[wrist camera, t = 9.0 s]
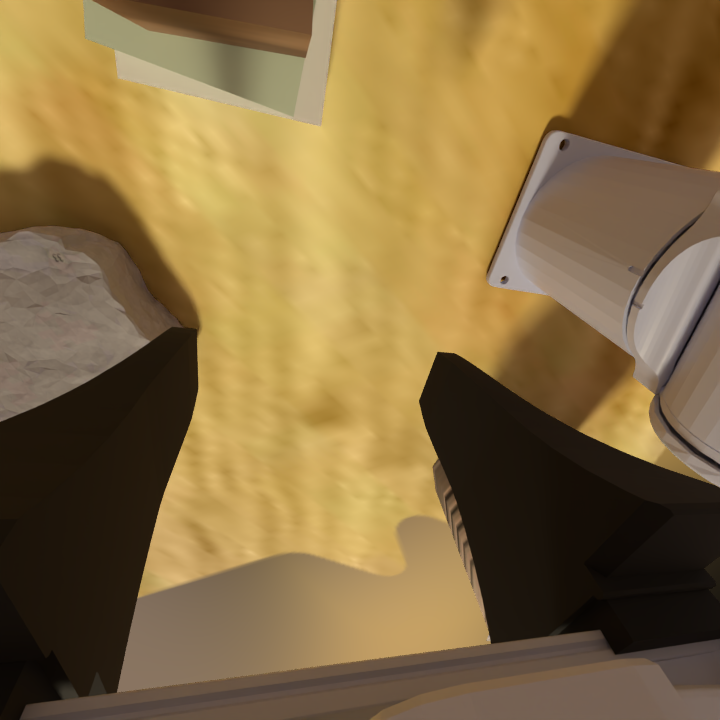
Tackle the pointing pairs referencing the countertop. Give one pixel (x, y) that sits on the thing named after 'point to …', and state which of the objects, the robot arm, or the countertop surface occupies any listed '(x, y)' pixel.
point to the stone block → (67, 312)
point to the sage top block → (203, 59)
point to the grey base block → (305, 109)
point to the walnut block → (226, 21)
